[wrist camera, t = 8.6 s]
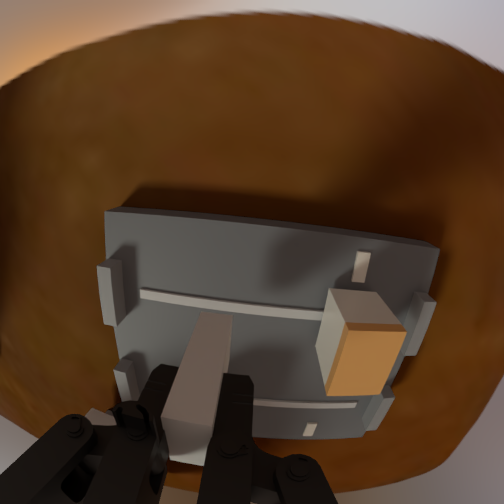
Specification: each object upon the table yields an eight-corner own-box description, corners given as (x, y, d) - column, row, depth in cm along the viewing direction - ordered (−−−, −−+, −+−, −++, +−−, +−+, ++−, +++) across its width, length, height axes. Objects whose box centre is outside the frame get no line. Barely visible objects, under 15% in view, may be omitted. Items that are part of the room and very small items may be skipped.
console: (140, 400, 22) (127, 425, 19) (119, 206, 17) (91, 215, 14) (357, 421, 22) (365, 448, 19) (425, 241, 17) (452, 256, 13)
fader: (315, 346, 17) (326, 396, 12) (328, 287, 15) (348, 330, 11) (359, 347, 16) (379, 394, 12) (376, 291, 15) (407, 331, 11)
